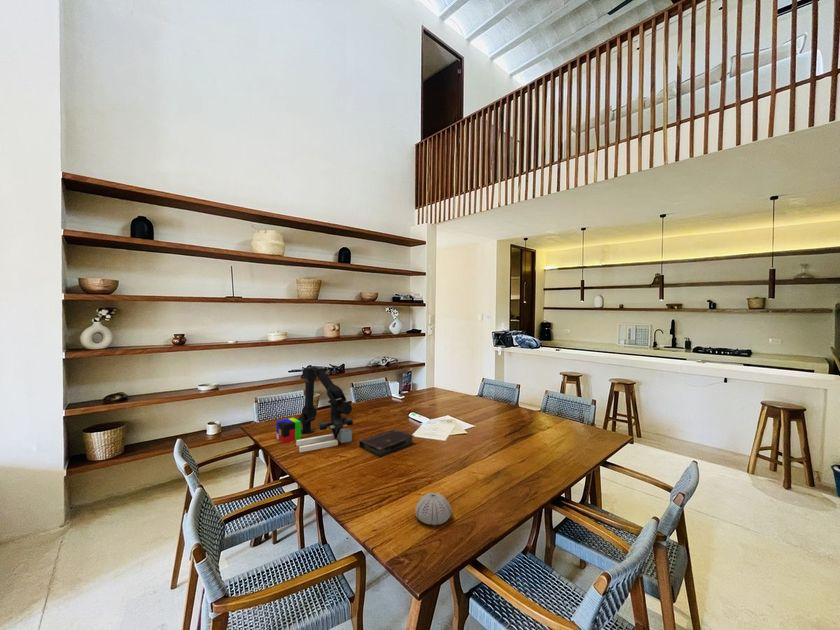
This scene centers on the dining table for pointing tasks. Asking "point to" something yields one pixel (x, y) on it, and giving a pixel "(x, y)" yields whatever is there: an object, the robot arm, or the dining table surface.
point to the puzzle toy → (288, 430)
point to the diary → (386, 442)
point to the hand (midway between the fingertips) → (335, 438)
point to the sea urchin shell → (433, 509)
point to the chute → (316, 445)
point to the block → (345, 435)
